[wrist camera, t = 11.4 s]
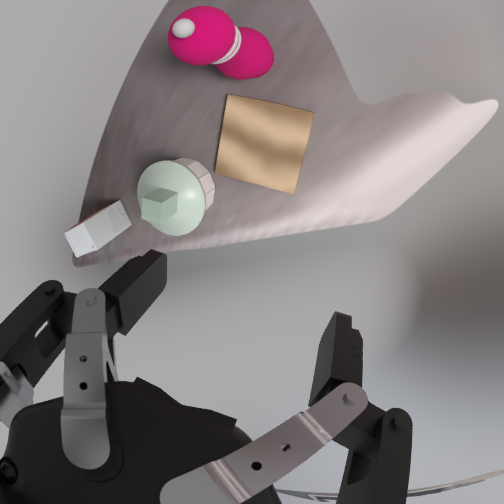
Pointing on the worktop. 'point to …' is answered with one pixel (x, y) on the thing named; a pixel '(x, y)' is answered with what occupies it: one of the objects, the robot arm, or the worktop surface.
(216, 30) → the pepper mill
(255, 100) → the plate
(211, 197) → the bowl
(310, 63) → the worktop surface
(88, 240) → the small box
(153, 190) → the lid
